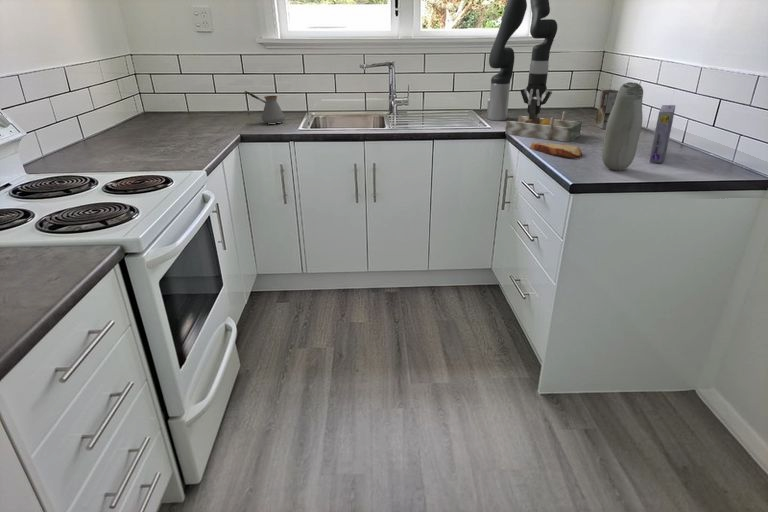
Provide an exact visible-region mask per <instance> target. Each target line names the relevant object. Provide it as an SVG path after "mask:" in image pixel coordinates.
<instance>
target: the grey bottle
mask: <svg viewBox="0 0 768 512" xmlns="http://www.w3.org/2000/svg"><path fill="white" fill-rule="evenodd" d="M617 91H618V93H617V97H616V100H615V104H614V106H613V108H612V111H611V113H610V116H609V118H608V122H607V127H606V129H605V133H604V134H605V135H604V139H603V140H604V141H603V146H602V152H601V160H602V163H603V165H604V166H605V167H606V168H607V169H610V170H611V169H612V171H623V170H626V169H627V168H629V167H630V165H632V163H633V161H634V160H635V157H636V152H637V148H638V144H639V140H640V135H641V132H642V131H641V130H642V127H643V97H644V89H643V87H642V85H641V84H639V83H637V82H631V81H630V82H626V83H623V84H622V85H621V86H620V87H619V89H618V90H617Z"/></svg>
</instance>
